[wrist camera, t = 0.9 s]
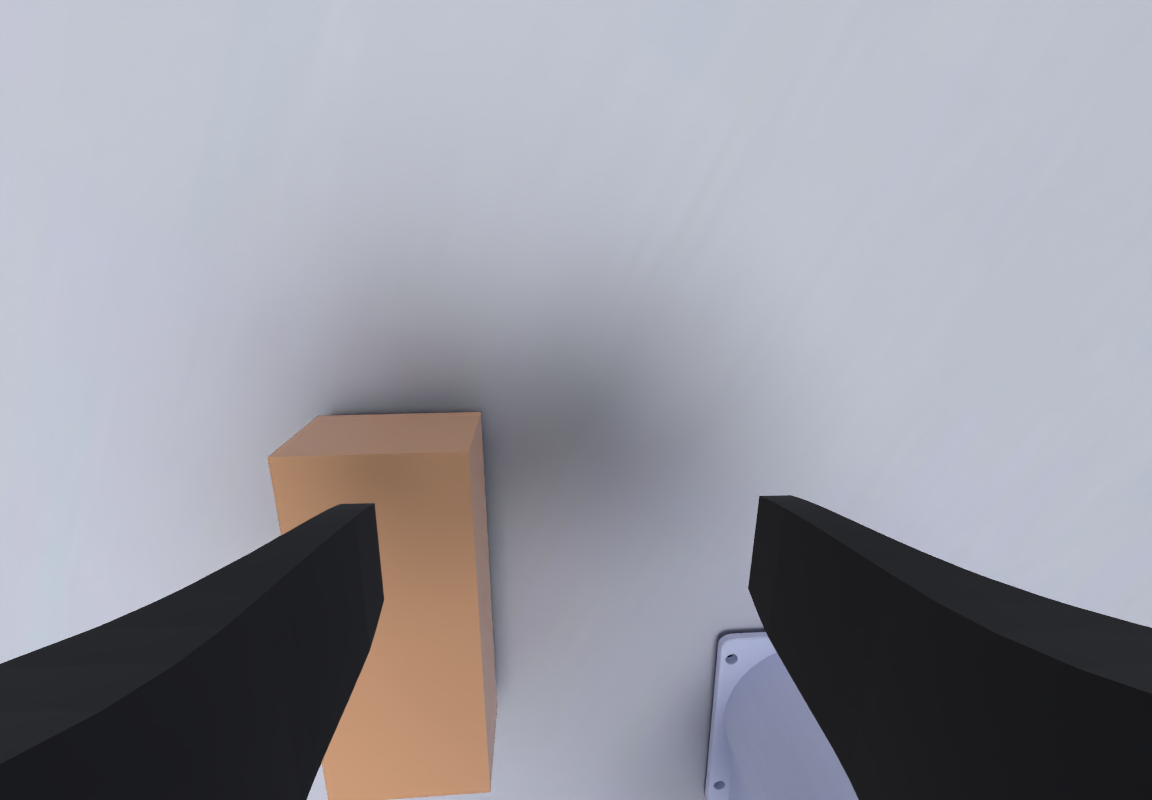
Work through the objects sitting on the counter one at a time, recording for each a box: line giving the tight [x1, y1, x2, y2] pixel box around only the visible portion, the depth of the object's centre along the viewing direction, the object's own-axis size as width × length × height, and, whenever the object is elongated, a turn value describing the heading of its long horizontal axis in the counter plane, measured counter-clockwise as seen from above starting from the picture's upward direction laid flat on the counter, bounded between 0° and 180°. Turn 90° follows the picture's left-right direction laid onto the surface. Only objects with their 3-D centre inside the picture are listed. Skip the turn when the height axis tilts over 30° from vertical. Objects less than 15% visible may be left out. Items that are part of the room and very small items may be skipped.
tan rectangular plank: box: [268, 412, 497, 800], centre depth 18 cm, size 13×5×4 cm, turn 0°
